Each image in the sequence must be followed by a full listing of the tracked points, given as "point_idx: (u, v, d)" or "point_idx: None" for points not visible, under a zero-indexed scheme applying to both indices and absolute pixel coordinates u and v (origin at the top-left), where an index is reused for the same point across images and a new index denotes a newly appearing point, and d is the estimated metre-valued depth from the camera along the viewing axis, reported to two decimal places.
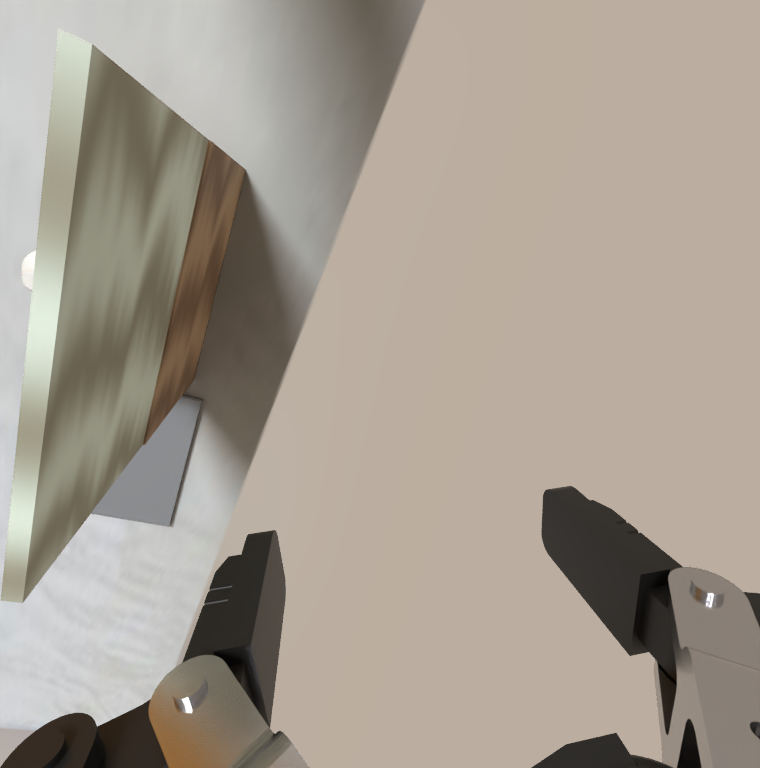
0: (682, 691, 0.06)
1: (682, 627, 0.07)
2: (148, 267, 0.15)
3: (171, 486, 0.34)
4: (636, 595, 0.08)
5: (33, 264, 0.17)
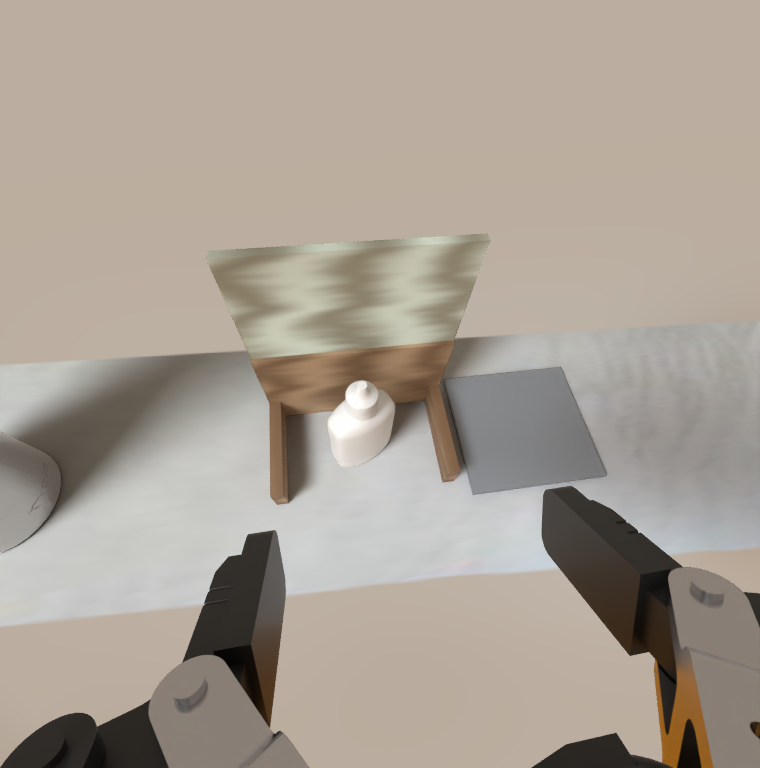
0: (682, 691, 0.06)
1: (682, 627, 0.07)
2: None
3: (524, 375, 0.41)
4: (636, 595, 0.08)
5: (357, 401, 0.27)
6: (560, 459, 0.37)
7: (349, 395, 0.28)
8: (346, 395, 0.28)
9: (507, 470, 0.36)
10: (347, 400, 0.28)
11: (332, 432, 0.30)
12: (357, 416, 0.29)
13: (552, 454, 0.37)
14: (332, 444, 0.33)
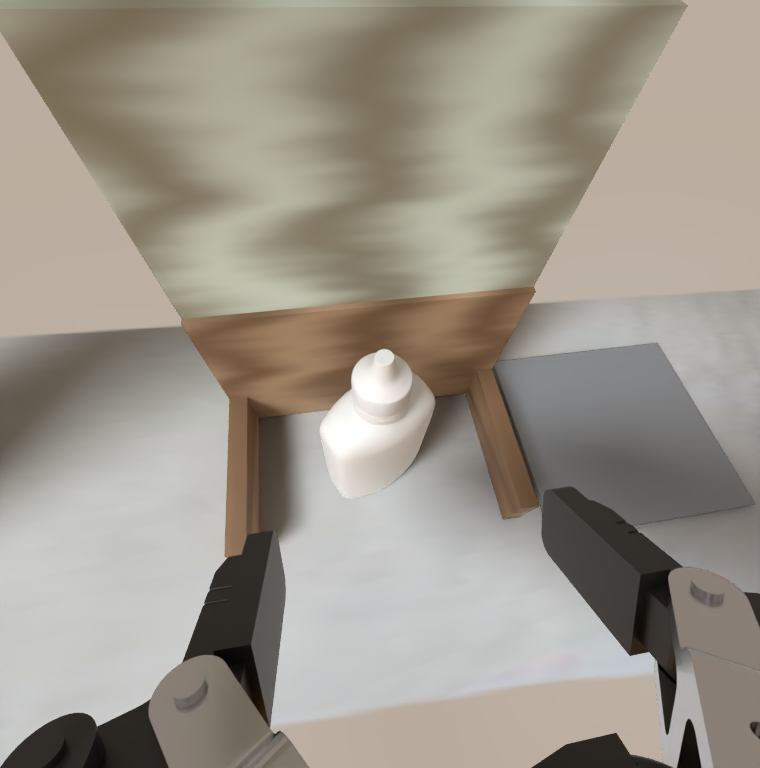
0: (682, 691, 0.06)
1: (682, 627, 0.07)
2: None
3: (607, 355, 0.29)
4: (636, 595, 0.08)
5: (375, 388, 0.14)
6: (680, 480, 0.24)
7: (359, 378, 0.15)
8: (353, 379, 0.15)
9: (602, 498, 0.23)
10: (355, 388, 0.15)
11: (328, 446, 0.17)
12: (373, 418, 0.16)
13: (667, 472, 0.24)
14: (329, 464, 0.20)
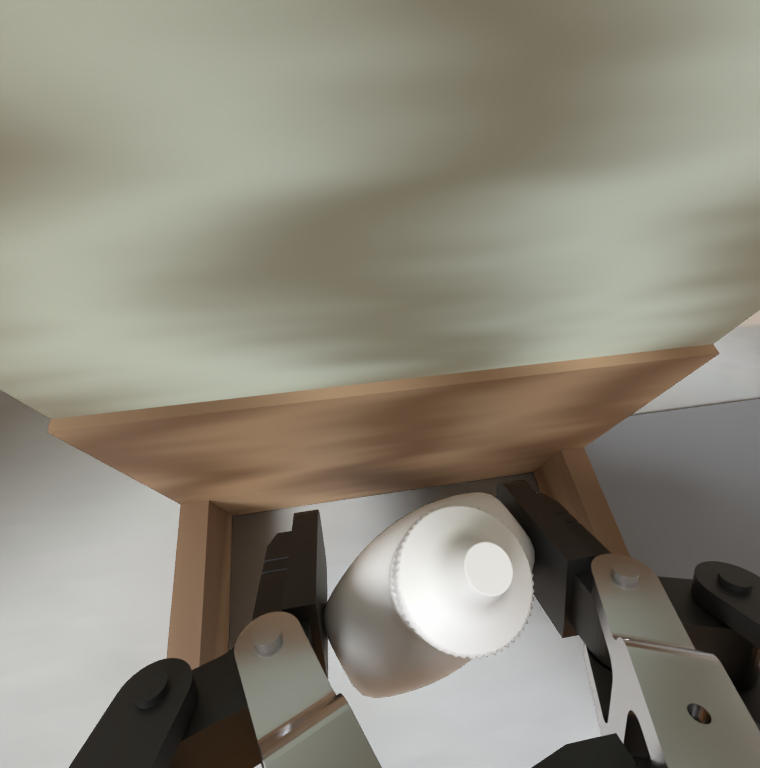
0: (619, 681, 0.06)
1: (610, 616, 0.07)
2: None
3: (729, 413, 0.20)
4: (565, 580, 0.09)
5: (455, 619, 0.06)
6: None
7: (415, 585, 0.06)
8: (401, 581, 0.07)
9: None
10: (407, 608, 0.06)
11: (340, 662, 0.09)
12: None
13: None
14: None
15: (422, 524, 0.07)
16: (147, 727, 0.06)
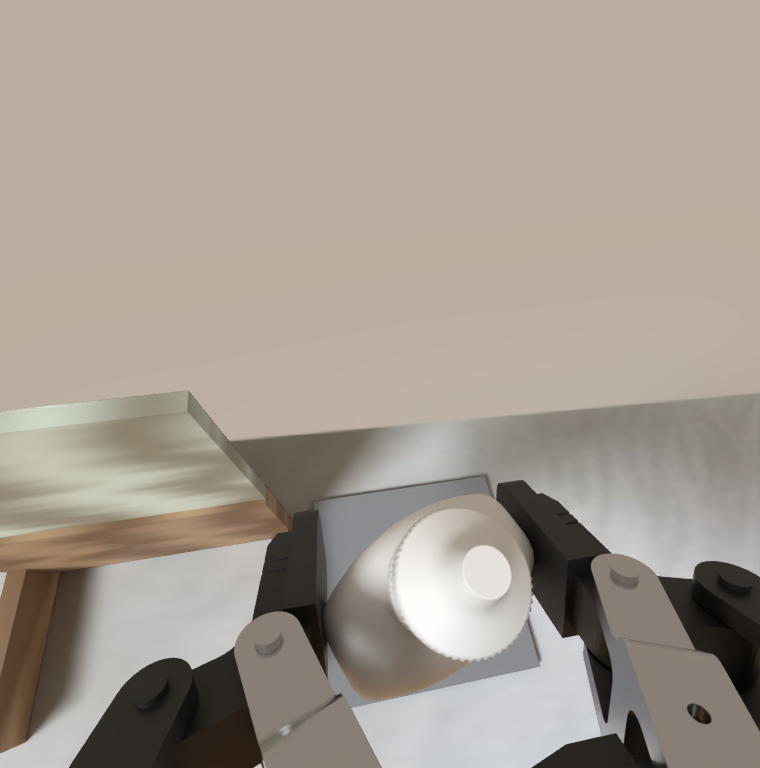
0: (619, 681, 0.06)
1: (610, 616, 0.07)
2: None
3: (431, 492, 0.29)
4: (565, 580, 0.09)
5: (453, 622, 0.06)
6: None
7: (413, 588, 0.06)
8: (399, 584, 0.07)
9: None
10: (405, 611, 0.06)
11: (339, 665, 0.09)
12: None
13: None
14: None
15: (421, 527, 0.07)
16: (147, 727, 0.06)
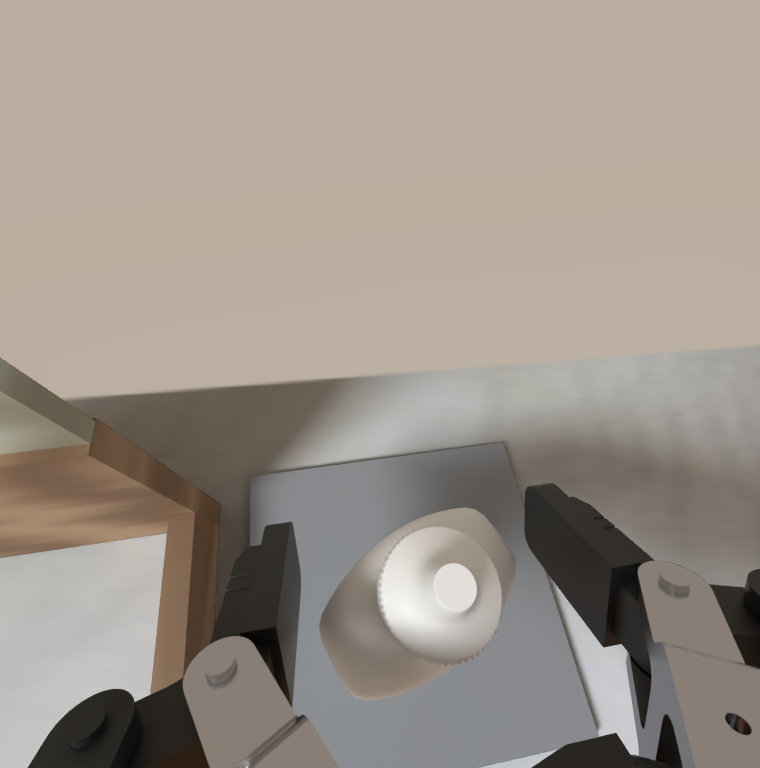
0: (657, 686, 0.06)
1: (654, 621, 0.07)
2: None
3: (425, 464, 0.20)
4: (608, 588, 0.08)
5: (430, 631, 0.07)
6: (486, 692, 0.15)
7: (395, 600, 0.07)
8: (383, 596, 0.07)
9: (349, 732, 0.14)
10: (388, 620, 0.07)
11: (335, 668, 0.10)
12: None
13: (468, 678, 0.15)
14: None
15: (403, 544, 0.08)
16: None
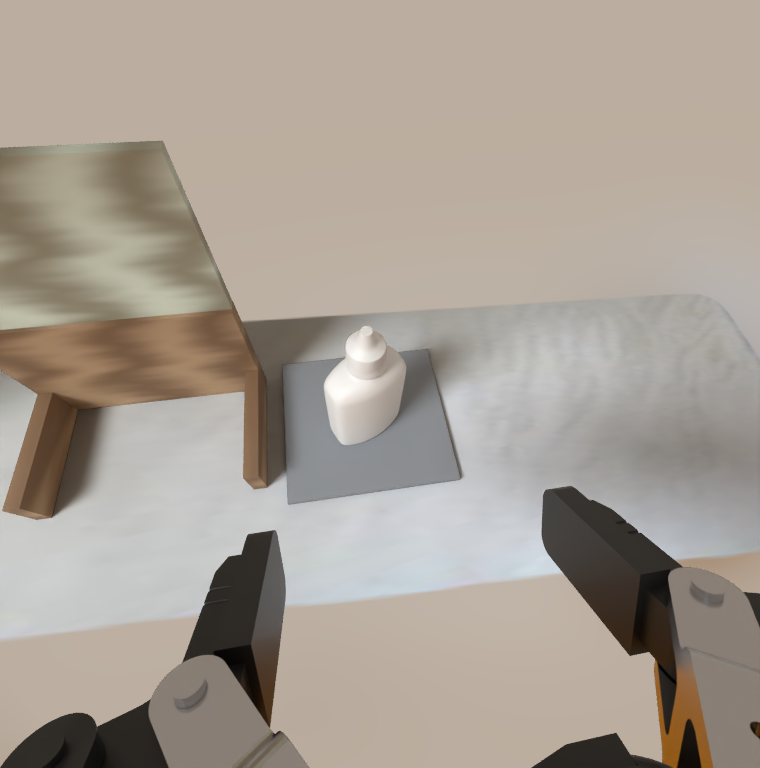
0: (682, 691, 0.06)
1: (682, 627, 0.07)
2: None
3: None
4: (636, 595, 0.08)
5: (360, 352, 0.22)
6: (405, 459, 0.30)
7: (350, 346, 0.22)
8: (346, 346, 0.22)
9: (336, 473, 0.29)
10: (348, 352, 0.22)
11: (330, 396, 0.25)
12: (360, 374, 0.23)
13: (397, 453, 0.30)
14: (330, 415, 0.28)
15: (354, 333, 0.23)
16: None
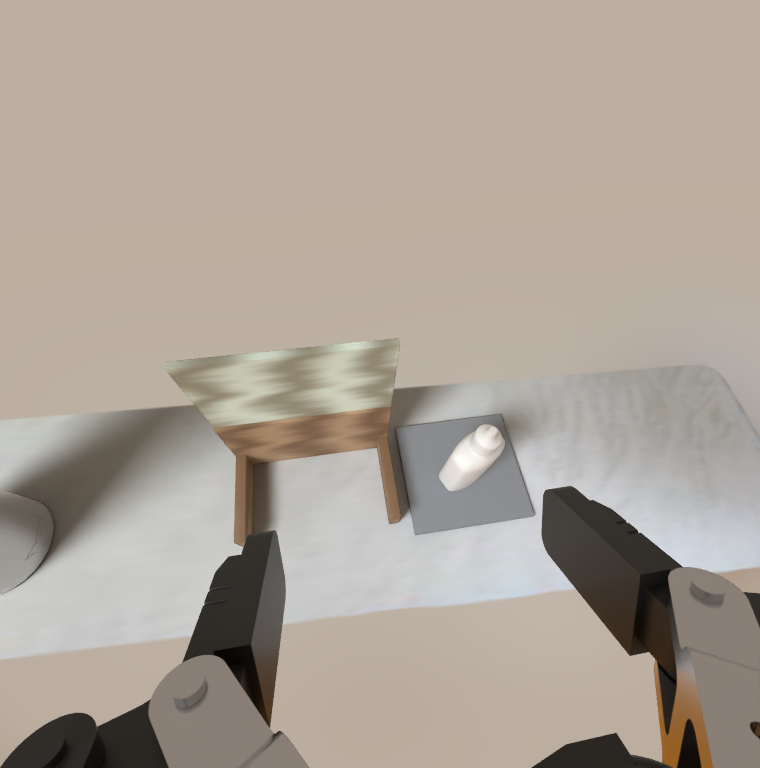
0: (682, 691, 0.06)
1: (682, 627, 0.07)
2: None
3: (467, 423, 0.46)
4: (636, 595, 0.08)
5: (487, 442, 0.34)
6: (494, 501, 0.42)
7: (479, 437, 0.34)
8: (476, 437, 0.34)
9: (446, 512, 0.41)
10: (478, 441, 0.34)
11: (457, 465, 0.36)
12: (482, 453, 0.35)
13: (487, 497, 0.42)
14: (448, 473, 0.39)
15: (479, 427, 0.35)
16: None
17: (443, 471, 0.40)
